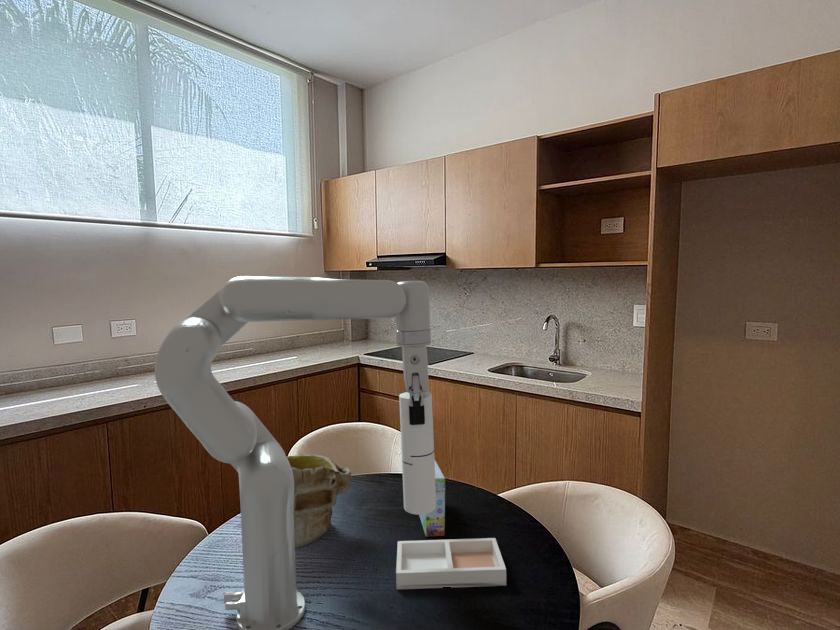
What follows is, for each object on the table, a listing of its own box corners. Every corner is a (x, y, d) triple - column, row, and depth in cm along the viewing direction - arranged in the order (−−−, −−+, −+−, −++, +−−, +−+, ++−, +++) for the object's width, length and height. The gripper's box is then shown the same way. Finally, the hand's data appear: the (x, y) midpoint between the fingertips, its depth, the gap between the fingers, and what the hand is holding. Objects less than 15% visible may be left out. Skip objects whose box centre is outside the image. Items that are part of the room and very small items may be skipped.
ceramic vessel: (330, 468, 137) (344, 418, 122) (349, 548, 121) (368, 501, 106) (251, 482, 127) (256, 429, 112) (261, 571, 111) (268, 523, 96)
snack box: (447, 536, 114) (446, 477, 113) (425, 538, 113) (424, 479, 112) (431, 498, 135) (430, 449, 134) (412, 500, 134) (411, 450, 133)
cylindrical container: (433, 515, 95) (428, 399, 94) (400, 513, 96) (395, 398, 95) (438, 499, 102) (434, 391, 101) (407, 498, 103) (403, 390, 102)
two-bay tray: (396, 589, 94) (396, 573, 93) (398, 555, 106) (397, 541, 105) (506, 585, 94) (506, 569, 94) (495, 552, 106) (495, 537, 106)
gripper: (433, 342, 88) (436, 430, 90) (428, 333, 106) (431, 407, 107) (395, 343, 88) (399, 432, 89) (396, 334, 106) (399, 409, 107)
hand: (416, 418), depth 98 cm, fingers closed on cylindrical container, 7 cm apart
